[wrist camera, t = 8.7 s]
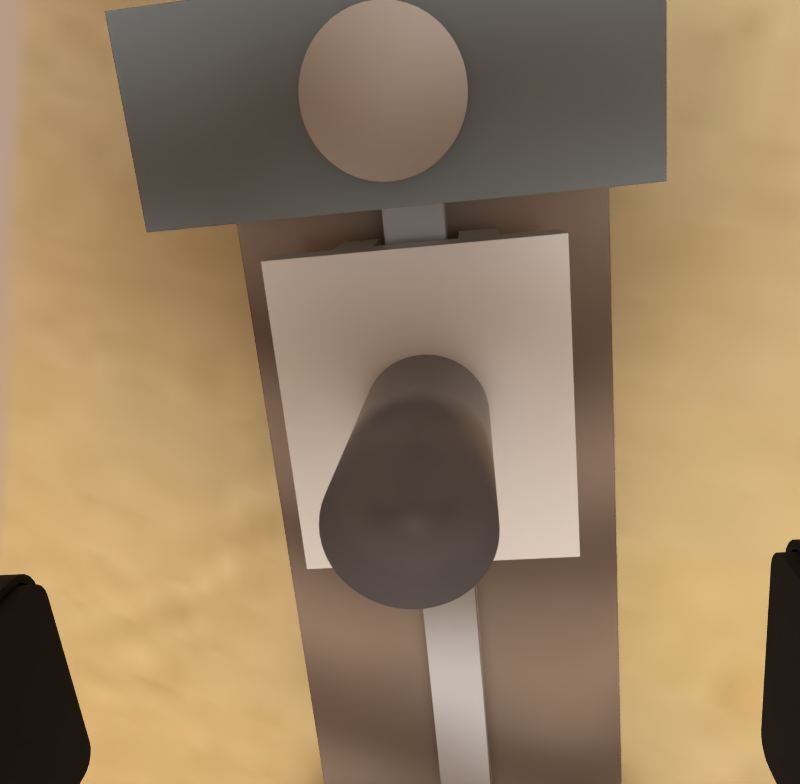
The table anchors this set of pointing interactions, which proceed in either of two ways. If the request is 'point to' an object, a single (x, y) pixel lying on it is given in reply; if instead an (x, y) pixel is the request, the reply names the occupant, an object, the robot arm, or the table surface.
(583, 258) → the rail track
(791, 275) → the table surface
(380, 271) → the carriage
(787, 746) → the robot arm
